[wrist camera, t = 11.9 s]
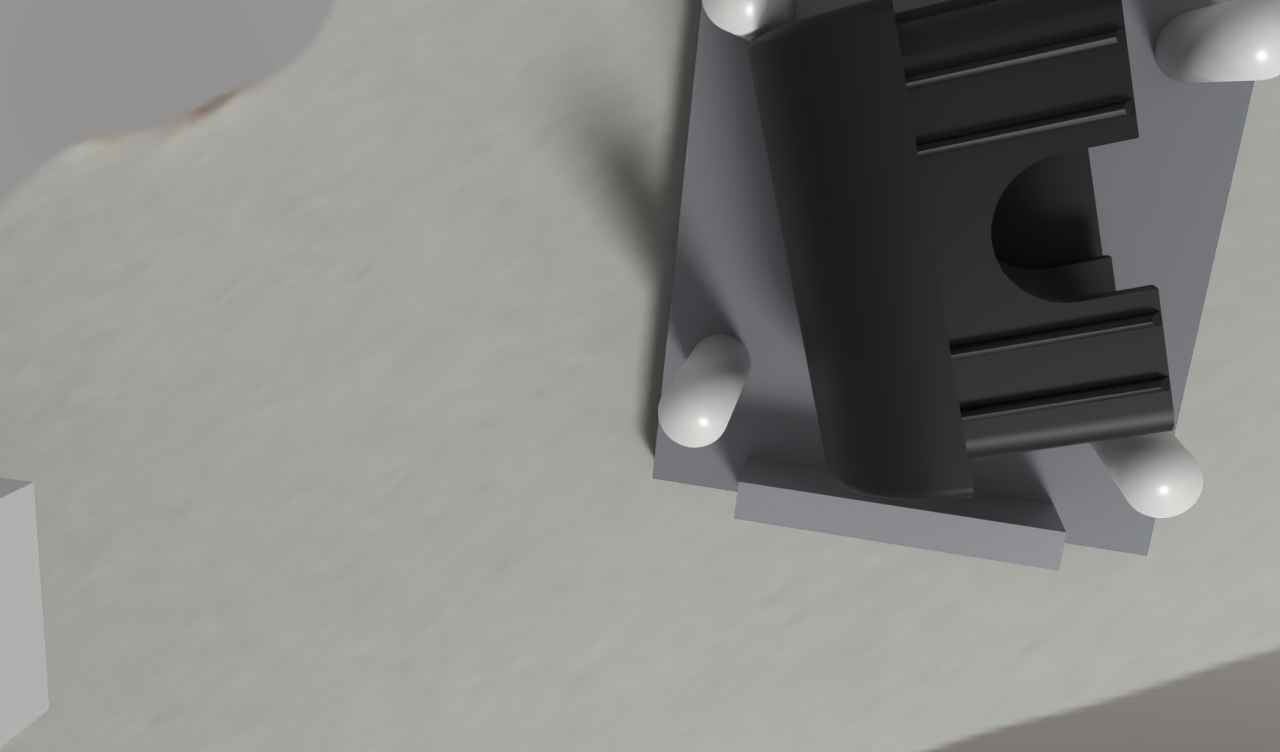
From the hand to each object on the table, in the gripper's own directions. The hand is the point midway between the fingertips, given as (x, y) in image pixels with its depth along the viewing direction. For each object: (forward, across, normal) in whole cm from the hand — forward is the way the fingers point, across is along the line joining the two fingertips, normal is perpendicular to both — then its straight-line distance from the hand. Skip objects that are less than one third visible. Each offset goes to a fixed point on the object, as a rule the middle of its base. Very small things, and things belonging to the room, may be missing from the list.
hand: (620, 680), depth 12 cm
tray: (+20, +4, +3) cm, 21 cm away
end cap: (+19, +4, +3) cm, 20 cm away
